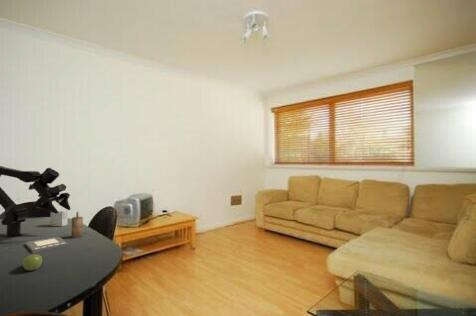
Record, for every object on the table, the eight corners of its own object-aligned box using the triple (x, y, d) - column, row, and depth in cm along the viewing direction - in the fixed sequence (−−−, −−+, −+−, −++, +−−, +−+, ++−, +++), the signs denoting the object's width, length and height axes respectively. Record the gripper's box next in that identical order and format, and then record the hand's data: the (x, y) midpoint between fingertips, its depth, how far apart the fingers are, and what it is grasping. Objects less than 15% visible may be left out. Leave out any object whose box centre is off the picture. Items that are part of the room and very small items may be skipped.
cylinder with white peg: (70, 236, 134) (70, 211, 134) (80, 234, 137) (81, 210, 138) (72, 238, 131) (73, 213, 131) (83, 236, 134) (84, 211, 134)
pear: (22, 257, 90) (23, 254, 97) (21, 273, 89) (23, 268, 97) (42, 254, 93) (42, 251, 101) (42, 269, 92) (41, 265, 100)
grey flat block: (25, 244, 120) (25, 241, 120) (58, 238, 130) (58, 236, 130) (32, 253, 109) (33, 249, 109) (68, 246, 119) (68, 243, 119)
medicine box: (67, 224, 158) (68, 210, 159) (61, 226, 154) (62, 212, 154) (55, 224, 159) (56, 210, 159) (49, 226, 155) (50, 211, 155)
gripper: (40, 180, 126) (61, 203, 125) (67, 178, 144) (85, 198, 144) (24, 196, 126) (45, 219, 125) (53, 192, 144) (71, 211, 144)
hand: (63, 211), depth 134 cm, fingers open, 9 cm apart
